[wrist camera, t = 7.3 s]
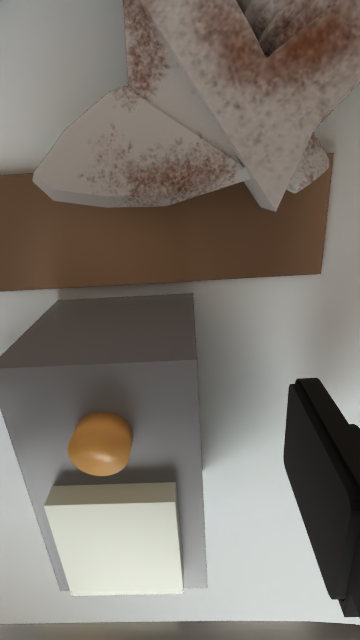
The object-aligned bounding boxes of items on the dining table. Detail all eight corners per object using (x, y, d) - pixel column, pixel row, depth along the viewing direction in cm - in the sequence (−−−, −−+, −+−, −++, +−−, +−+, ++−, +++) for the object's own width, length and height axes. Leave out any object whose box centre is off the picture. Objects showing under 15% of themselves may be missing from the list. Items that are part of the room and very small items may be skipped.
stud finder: (192, 291, 10) (197, 374, 6) (201, 468, 13) (208, 609, 9) (59, 298, 10) (-29, 383, 6) (96, 472, 13) (53, 612, 9)
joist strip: (330, 153, 8) (334, 153, 8) (318, 271, 10) (321, 273, 9) (-322, 197, 9) (-333, 197, 9) (-258, 303, 10) (-266, 306, 10)
